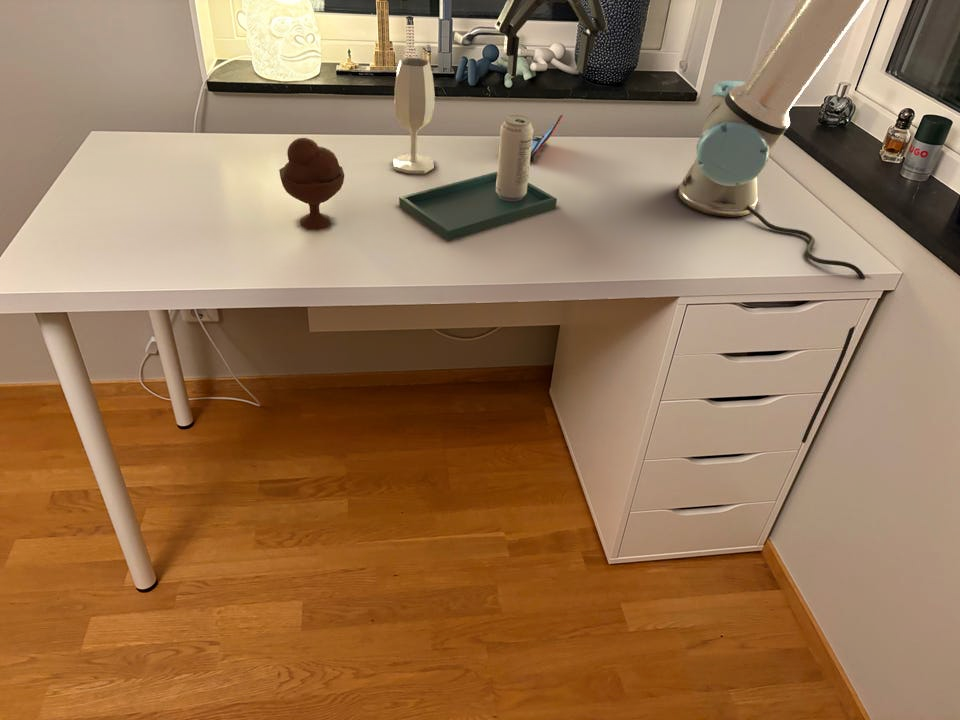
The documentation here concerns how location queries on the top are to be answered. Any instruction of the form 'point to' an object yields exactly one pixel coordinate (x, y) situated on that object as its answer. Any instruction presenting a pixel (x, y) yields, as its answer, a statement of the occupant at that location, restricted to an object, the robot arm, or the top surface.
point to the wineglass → (414, 109)
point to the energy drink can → (514, 158)
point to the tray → (472, 206)
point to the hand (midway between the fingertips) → (546, 73)
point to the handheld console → (542, 140)
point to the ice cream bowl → (311, 179)
